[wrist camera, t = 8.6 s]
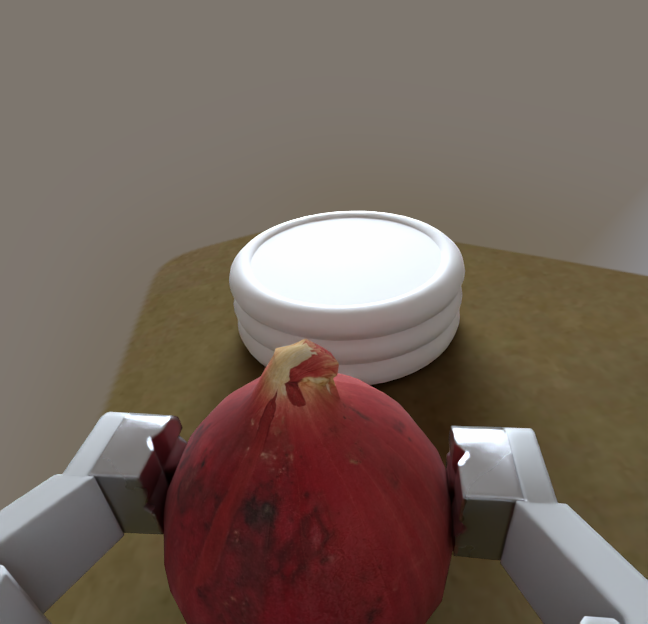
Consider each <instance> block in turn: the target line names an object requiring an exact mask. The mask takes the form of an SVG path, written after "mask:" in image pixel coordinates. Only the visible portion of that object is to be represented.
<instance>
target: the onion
mask: <svg viewBox="0 0 648 624" xmlns="http://www.w3.org/2000/svg"><path fill="white" fill-rule="evenodd" d="M338 367H339V363H338V361H337V360H336V359H335V357H334V356H333V355H332V353H331V352H329V351H328V350H326V349H324V348H323V347H321V346H320V345H318V344H316V343H314V342H311V341H309V340H307V339H303V340H301V341H299V342H297V343H294V344H292V345H289V346H284V347H279V348H276V349H275V352H274V355H273V356H272V358H271V360H270V361H269V363H268V365H267V366H266V368H265V370H264V372H263V373H262V375H261V377H259V378H257V379H255V380H254V381H252V382H250V383H248V384H247V385H245V386H243V387H241V388H239V389H238V390H236V391H234V392H232V393H231V394H230V395H229V396H227V397H226V398H225V399H223V401H222V402H221V403H220V404H219V405H218V406H217V407H216V408H215V409H214V410H213V411H212V412H211V413H210V414H209V415H208V416H207V417H206V418H205V419H204V420H203V421H202V422H201V424H200V425H199V426H198V427H197V429H196V430H195V431H194V432H193V434H192V435H191V436H190V439H189V441H188V443H187V445H186V448H185V450H184V452H183V455H182V457H181V459H180V462H179V464H178V467H177V469H176V471H175V474H174V476H173V479H172V481H171V483H170V486H169V488H168V491H167V496H166V502H165V508H164V565H165V570H166V574H167V579H168V583H169V588H170V591H171V593H172V595H173V597H174V599H175V601H176V603H177V605H178V607H179V609H180V611H181V613H182V615H183V617H184V619H185V621H186V623H187V624H425V623H426V622H427V620H428V619H429V618H430V616H431V615H432V614H433V612H434V611H435V610H436V608H437V607H438V605H439V604H440V603H441V601H442V597H443V593H444V588H445V583H446V579H447V574H448V569H449V565H450V560H451V555H452V551H453V545H452V519H451V509H452V507H451V501H450V496H449V493H448V485H447V477H446V470H445V467H444V464H443V462H442V460H441V457H440V455H439V453H438V451H437V449H436V448H435V446H434V445H433V444H432V443H431V441H430V440H429V439H428V438H427V436H426V435H425V434H424V433H423V431H422V430H421V429H420V428H419V426H418V425H417V424H416V423H415V421H414V420H413V419H412V418H411V417H410V415H409V414H408V413H407V412H406V411H405V410H404V409H403V407H402V406H401V405H400V404H399V403H398V402H396V401H395V400H393V399H392V398H391V397H389V396H388V395H386V394H384V393H383V392H381V391H379V390H377V389H376V388H374V387H372V386H370V385H368V384H367V383H365V382H363V381H361V380H360V379H357V378H354V377H351V376H348V375H344V374H340V373H338Z"/></svg>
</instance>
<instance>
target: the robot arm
mask: <svg viewBox="0 0 648 624" xmlns="http://www.w3.org/2000/svg"><path fill="white" fill-rule="evenodd" d="M181 430H182V425H181V423H180V420H179V418H178V417H176V416H170V415H155V414H140V413H119V412H108V413H106V414H105V415H103V416H102V417H101V418H100V419H99V421H98V422H97V424H96V425H95V427H94V428H93V430H92V431H91V433H90V434H89V436H88V437H87V439H86V440H85V442H84V443H83V445H82V446H81V447H80V449H79V451H78V452H77V453H76V455H75V456H74V458H73V459H72V461H71V462H70V464H69V465H68V467H67V468H66V470H65V471H64V473H63V474H55V475H54V476H52V477H51V478H49V479H48V480H46V481H45V482H43V483H42V484H40V485H39V486H37V487H36V488H34V489H33V490H31V491H29V492H28V493H26V494H25V495H23V496H22V497H20V498H19V499H17V500H16V501H14V502H13V503H11V504H10V505H8V506H7V507H5V508H4V509H2V510H1V511H0V624H51V622H50V621H49V620H48V619H47V618H46V616H45V615H44V613H45V612H46V611H47V610H48V609H49V608H50V607H51V606H52V605H53V604H54V603H55V602H56V601H57V600H58V599H59V598H60V597H61V596H62V595H63V594H64V593H65V592H66V591H67V590H68V589H69V588H70V587H71V586H72V585H74V584H75V583H76V582H77V581H78V580H79V579H80V578H81V577H82V576H83V575H84V574H85V573H86V572H87V571H88V570H89V569H90V568H91V567H92V566H93V565H94V564H95V563H96V562H97V561H98V560H99V559H100V558H101V557H102V556H103V555H104V554H105V553H106V552H107V551H108V550H109V549H111V548H112V547H113V546H114V545H115V544H116V543H117V542H118V541H119V540H120V539H121V538H122V537H123V536H124V533H145V534H164V508H165V502H166V496H167V491H168V488H169V486H170V483H171V481H172V479H173V476H174V474H175V471H176V469H177V467H178V464H179V462H180V459H181V457H182V455H183V452H184V450H185V448H186V445H187V442H186V441H185V440H184V439H183V438H182V437H180V436H179V434H180V432H181ZM449 447H450V452H449V453H448V454H447V458H446V477H447V485H448V493H449V496H450V501H451V506H452V509H451V519H452V545H453V554H454V556H462V557H471V558H481V559H491V560H501V561H500V563H501V565H502V566H503V567H504V569H505V570H506V572H507V573H508V574H509V576H510V577H511V579H512V580H513V581H514V583H515V584H516V586H517V587H518V588H519V590H520V591H521V593H522V594H523V595H524V597H525V598H526V600H527V601H528V602H529V604H530V605H531V607H532V608H533V609H534V611H535V612H536V614H537V615H538V616H539V618H540V619H541V621H542V622H543V623H544V624H648V580H647V579H646V578H645V577H644V576H643V575H642V574H640V573H639V572H638V571H637V570H636V569H635V568H634V567H633V566H632V565H631V564H630V563H629V562H628V561H627V560H626V559H625V558H623V557H622V556H621V555H620V554H619V553H618V552H617V551H616V550H615V549H614V548H613V547H612V546H611V545H610V544H609V543H607V542H606V541H605V540H604V539H603V538H602V537H601V536H600V535H599V534H598V533H597V532H596V531H595V530H594V529H593V528H592V527H590V526H589V525H588V524H587V523H586V522H585V521H584V520H583V519H582V518H581V517H580V516H579V515H578V514H577V513H576V512H575V511H573V510H572V509H571V508H570V507H569V506H568V505H567V504H561V503H558V502H557V499H556V496H555V493H554V490H553V487H552V484H551V481H550V478H549V475H548V472H547V469H546V466H545V463H544V460H543V457H542V454H541V450H540V447H539V444H538V441H537V438H536V435H535V433H534V431H533V430H532V429H531V428H502V427H472V426H451V428H450V432H449Z"/></svg>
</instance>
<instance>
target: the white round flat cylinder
mask: <svg viewBox="0 0 648 624" xmlns="http://www.w3.org/2000/svg"><path fill="white" fill-rule="evenodd" d="M464 275H465V268H464V262H463V258H462V255H461V253H460V250H459V249H458V247H457V246H456V245H455V243H454V242H453V241H452V240H450V239H449V238H448V237H447V236H446V235H445V234H443V233H442V232H440V231H439V230H437V229H436V228H434V227H432V226H430V225H428V224H426V223H423V222H421V221H418V220H415V219H412V218H409V217H405V216H400V215H395V214H389V213H382V212H371V211H341V212H330V213H322V214H316V215H311V216H306V217H302V218H298V219H294V220H291V221H288V222H285V223H282V224H280V225H277V226H275V227H272V228H270V229H268V230H266V231H264V232H263V233H261V234H260V235H258V236H256V237H255V238H254V239H252V240H251V241H250V242H249V243H248V244H247V245H246V246H245V247H244V248H243V249H242V250H241V251H240V252H239V253H238V255H237V256H236V257H235V259H234V261H233V263H232V266H231V270H230V278H229V285H230V290H231V292H232V294H233V297H234V310H235V314H236V316H237V318H238V329H239V334H240V336H241V339H242V341H243V343H244V344H245V346H246V347H247V349H248V350H249V352H250V353H251V355H253V356H254V357H255V358H256V359H257V360H258V361H259V362H260V363H261V364H263V365H264V366H267V365H268V363H269V361H270V360H271V358H272V356H273V355H274V352H275V349H276V348H279V347H284V346H289V345H292V344H294V343H297V342H299V341H301V340H303V339H307V340H309V341H311V342H314V343H316V344H318V345H320V346H321V347H323V348H324V349H326V350H328V351H329V352H331V353H332V355H333V356H334V357H335V359H336V360H337V361H338V363H339V367H338V373H340V374H344V375H348V376H351V377H354V378H357V379H360V380H361V381H363V382H365V383H367V384H368V385H373V384H378V383H384V382H388V381H391V380H395V379H398V378H402V377H404V376H406V375H409V374H411V373H414V372H416V371H418V370H419V369H421V368H423V367H425V366H427V365H428V364H430V363H431V362H432V361H434V360H435V359H436V358H438V357H439V356H440V355H441V354H442V353H443V352H444V351H445V350H446V348H447V347H448V345H449V344H450V342H451V341H452V339H453V337H454V335H455V333H456V330H457V328H458V325H459V319H460V313H459V307H460V305H461V301H462V288H461V285H462V282H463V280H464Z"/></svg>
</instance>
